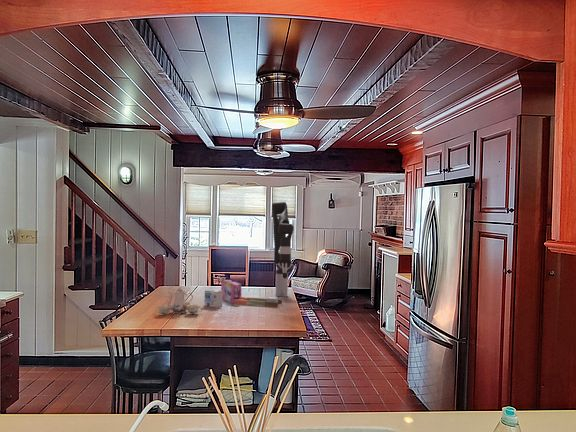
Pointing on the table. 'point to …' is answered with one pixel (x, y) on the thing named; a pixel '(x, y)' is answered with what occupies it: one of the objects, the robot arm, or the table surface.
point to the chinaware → (178, 304)
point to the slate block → (272, 299)
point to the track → (262, 303)
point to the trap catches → (242, 300)
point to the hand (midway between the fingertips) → (284, 278)
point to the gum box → (230, 289)
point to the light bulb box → (213, 298)
